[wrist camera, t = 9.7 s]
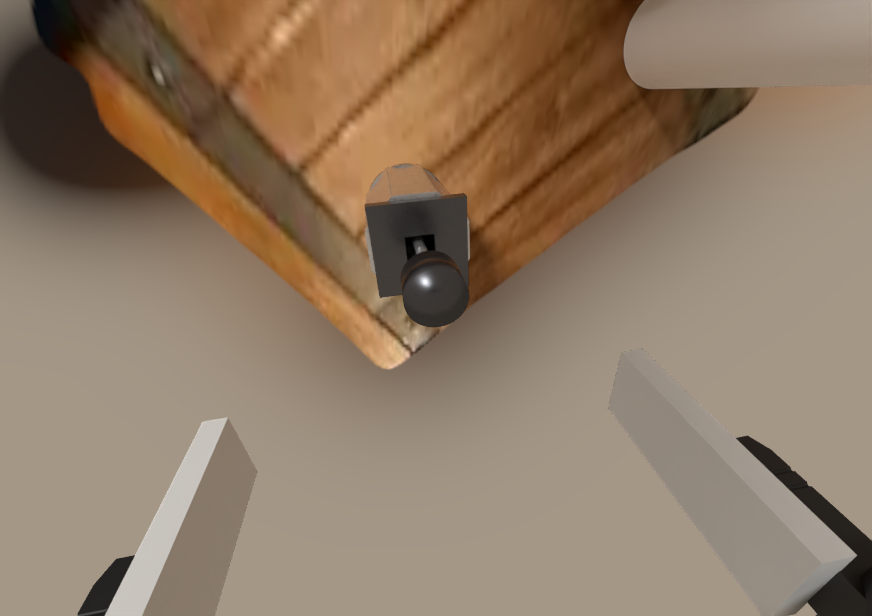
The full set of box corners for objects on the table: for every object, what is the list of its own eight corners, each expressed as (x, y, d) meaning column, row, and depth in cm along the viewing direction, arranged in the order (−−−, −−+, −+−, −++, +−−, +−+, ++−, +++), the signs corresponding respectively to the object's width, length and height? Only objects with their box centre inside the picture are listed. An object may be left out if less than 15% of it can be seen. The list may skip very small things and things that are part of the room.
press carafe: (360, 167, 42) (355, 200, 29) (443, 159, 43) (473, 187, 30) (376, 266, 48) (378, 329, 36) (448, 258, 49) (475, 315, 36)
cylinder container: (677, 97, 43) (1119, 102, 18) (609, 78, 41) (1000, 51, 16) (722, -3, 39) (1395, -187, 13) (649, -30, 37) (1283, -314, 11)
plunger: (376, 187, 39) (379, 259, 22) (436, 181, 40) (485, 246, 23) (384, 245, 43) (393, 346, 26) (440, 239, 43) (485, 333, 26)
